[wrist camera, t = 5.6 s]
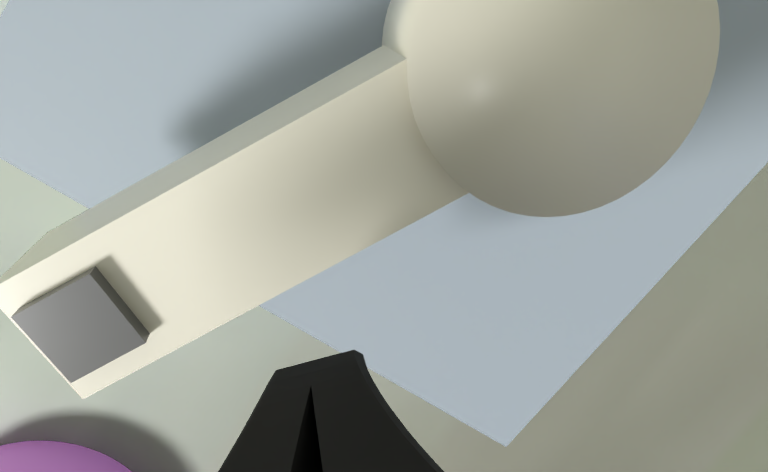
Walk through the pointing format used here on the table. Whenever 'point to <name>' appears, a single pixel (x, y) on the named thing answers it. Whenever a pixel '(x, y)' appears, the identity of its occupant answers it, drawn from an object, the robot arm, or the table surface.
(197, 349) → the table surface
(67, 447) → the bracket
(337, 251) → the cream knobbed bar
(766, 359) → the table surface
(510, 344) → the board
